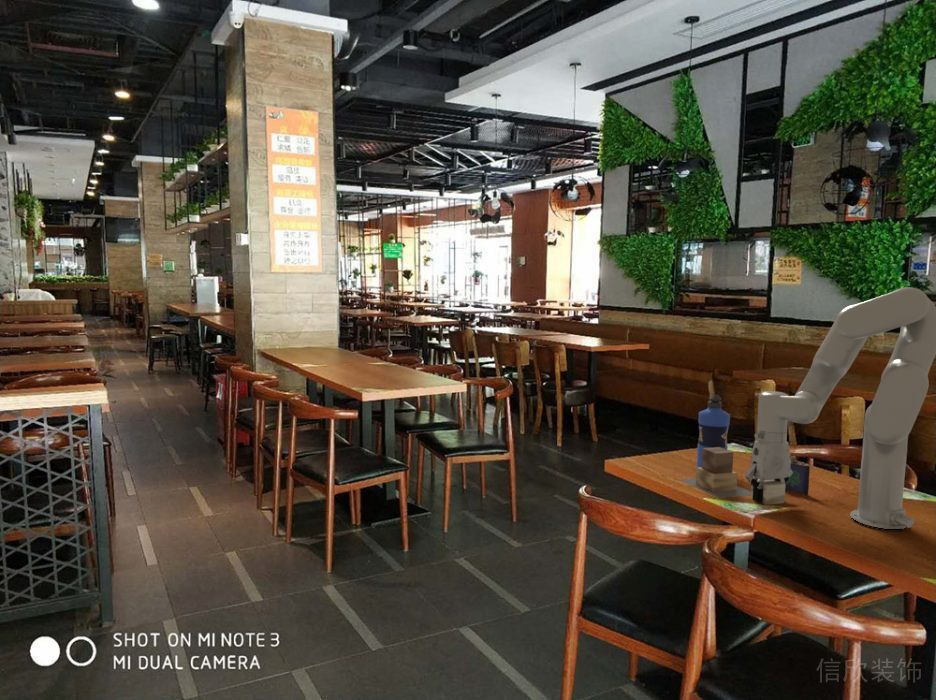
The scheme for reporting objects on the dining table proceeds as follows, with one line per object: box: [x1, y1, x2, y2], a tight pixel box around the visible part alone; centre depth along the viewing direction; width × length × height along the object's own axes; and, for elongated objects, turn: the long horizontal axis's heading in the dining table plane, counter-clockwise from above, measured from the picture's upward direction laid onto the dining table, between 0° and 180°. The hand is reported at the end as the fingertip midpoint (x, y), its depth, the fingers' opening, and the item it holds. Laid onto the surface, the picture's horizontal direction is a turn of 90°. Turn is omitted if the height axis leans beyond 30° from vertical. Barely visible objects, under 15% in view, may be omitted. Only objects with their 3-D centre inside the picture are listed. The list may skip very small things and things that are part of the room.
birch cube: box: [750, 479, 786, 506], centre depth 184 cm, size 6×6×6 cm
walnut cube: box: [702, 447, 734, 474], centre depth 195 cm, size 6×6×6 cm
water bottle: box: [696, 394, 731, 469], centre depth 213 cm, size 9×9×25 cm
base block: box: [695, 467, 738, 492], centre depth 195 cm, size 8×8×5 cm
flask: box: [785, 455, 811, 496], centre depth 194 cm, size 9×3×11 cm, turn 50°
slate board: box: [680, 477, 751, 499], centre depth 196 cm, size 18×13×1 cm
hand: (767, 499), depth 184 cm, fingers closed on birch cube, 6 cm apart
